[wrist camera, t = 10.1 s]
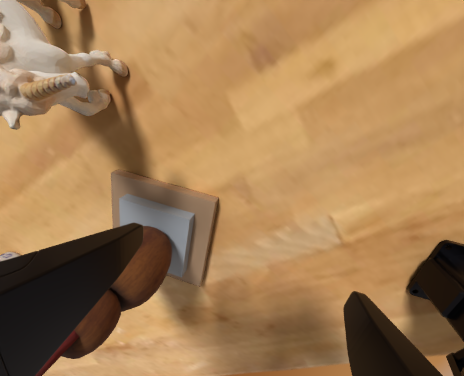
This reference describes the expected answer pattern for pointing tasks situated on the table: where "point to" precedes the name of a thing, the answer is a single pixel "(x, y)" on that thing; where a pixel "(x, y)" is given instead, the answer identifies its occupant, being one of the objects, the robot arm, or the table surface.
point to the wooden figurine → (120, 297)
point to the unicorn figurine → (44, 66)
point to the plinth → (168, 219)
